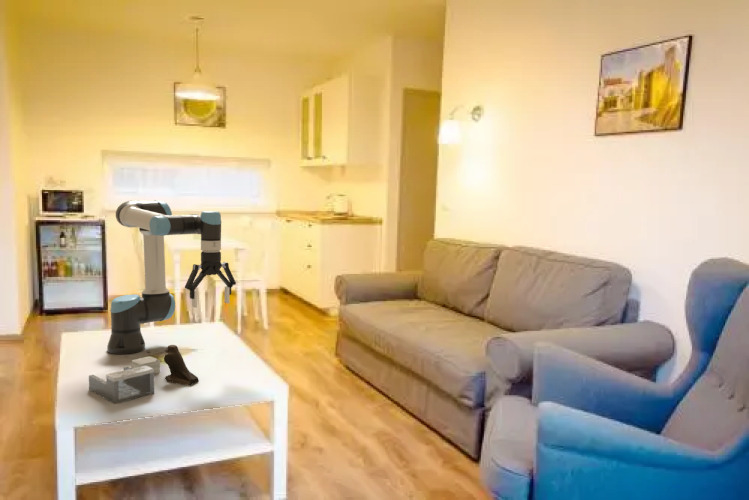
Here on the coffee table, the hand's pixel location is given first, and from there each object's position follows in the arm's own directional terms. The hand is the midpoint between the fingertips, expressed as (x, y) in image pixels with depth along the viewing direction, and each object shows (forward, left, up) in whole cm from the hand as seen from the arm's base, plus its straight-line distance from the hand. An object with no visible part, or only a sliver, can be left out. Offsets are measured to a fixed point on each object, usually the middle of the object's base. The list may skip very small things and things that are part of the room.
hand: (211, 304), depth 226 cm
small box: (-14, -20, -26) cm, 36 cm away
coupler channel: (+1, -36, -26) cm, 44 cm away
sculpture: (+5, -16, -26) cm, 31 cm away
